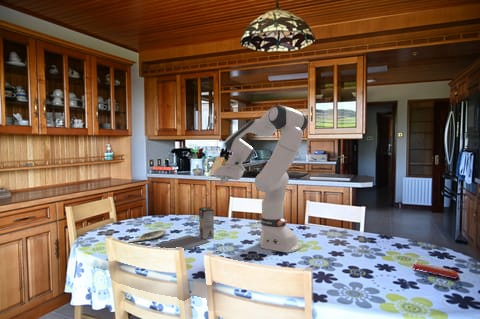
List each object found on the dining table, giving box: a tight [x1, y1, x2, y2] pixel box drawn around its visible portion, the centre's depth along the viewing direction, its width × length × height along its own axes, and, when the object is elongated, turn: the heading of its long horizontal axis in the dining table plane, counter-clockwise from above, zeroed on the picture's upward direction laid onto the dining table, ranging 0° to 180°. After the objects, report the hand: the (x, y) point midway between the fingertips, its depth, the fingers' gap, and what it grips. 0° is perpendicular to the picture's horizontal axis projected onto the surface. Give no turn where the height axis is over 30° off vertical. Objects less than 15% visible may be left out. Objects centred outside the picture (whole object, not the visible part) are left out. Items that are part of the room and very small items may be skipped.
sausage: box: [412, 262, 460, 278], centre depth 129 cm, size 16×4×3 cm, turn 50°
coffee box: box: [198, 206, 215, 240], centre depth 181 cm, size 9×6×16 cm
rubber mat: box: [155, 234, 211, 251], centre depth 169 cm, size 18×22×1 cm
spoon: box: [128, 229, 167, 244], centre depth 174 cm, size 35×11×2 cm, turn 139°
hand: (221, 183), depth 189 cm, fingers closed
